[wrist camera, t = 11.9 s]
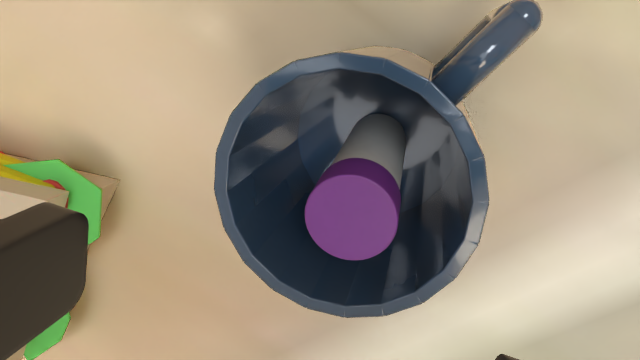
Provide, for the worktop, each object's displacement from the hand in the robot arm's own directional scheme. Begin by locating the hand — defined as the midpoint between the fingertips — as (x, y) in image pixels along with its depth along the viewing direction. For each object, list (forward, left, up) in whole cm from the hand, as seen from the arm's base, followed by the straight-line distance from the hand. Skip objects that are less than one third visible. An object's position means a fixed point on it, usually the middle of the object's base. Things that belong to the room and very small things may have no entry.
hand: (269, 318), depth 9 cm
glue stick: (0, 0, -16) cm, 16 cm away
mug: (+1, +2, -17) cm, 17 cm away
